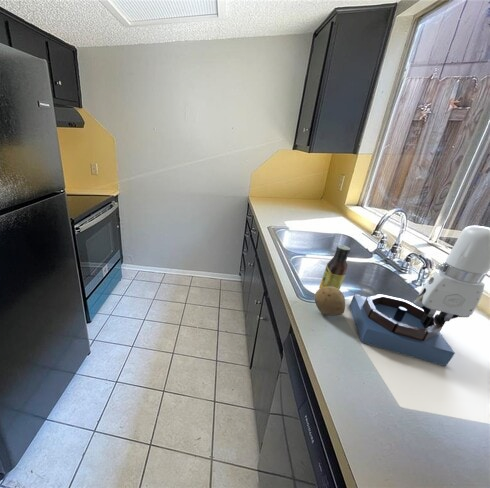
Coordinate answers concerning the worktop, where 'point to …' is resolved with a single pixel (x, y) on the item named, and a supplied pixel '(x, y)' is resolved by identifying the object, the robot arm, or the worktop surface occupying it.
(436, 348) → the ring stand
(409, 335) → the walnut ring
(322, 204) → the worktop surface
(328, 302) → the brown potato
